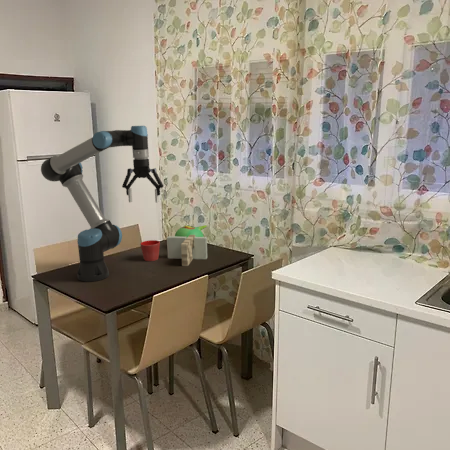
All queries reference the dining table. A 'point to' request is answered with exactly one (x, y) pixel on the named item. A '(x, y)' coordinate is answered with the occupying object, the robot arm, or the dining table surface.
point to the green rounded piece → (190, 231)
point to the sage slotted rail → (197, 251)
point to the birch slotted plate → (187, 250)
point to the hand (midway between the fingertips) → (143, 202)
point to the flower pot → (150, 250)
